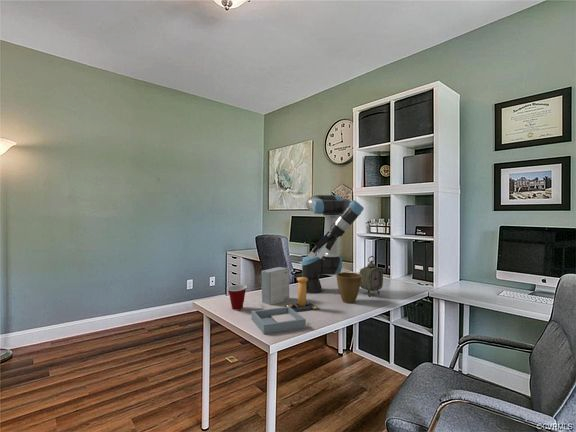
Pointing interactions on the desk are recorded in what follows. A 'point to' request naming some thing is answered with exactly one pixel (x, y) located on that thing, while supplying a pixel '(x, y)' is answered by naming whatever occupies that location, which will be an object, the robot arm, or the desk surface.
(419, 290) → the desk surface
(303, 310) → the tensioner bracket
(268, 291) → the hard drive box
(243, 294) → the plastic cup
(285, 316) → the desk surface
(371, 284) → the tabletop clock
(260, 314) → the pin tray
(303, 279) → the pin
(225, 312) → the desk surface
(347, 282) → the plant pot
